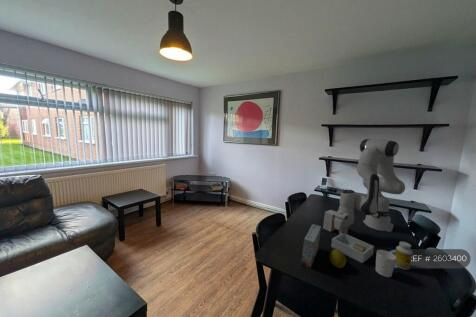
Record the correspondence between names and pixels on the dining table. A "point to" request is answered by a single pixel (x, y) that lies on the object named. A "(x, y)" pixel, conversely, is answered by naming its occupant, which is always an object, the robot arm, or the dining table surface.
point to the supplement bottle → (403, 255)
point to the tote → (346, 246)
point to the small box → (329, 220)
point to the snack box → (311, 246)
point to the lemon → (337, 258)
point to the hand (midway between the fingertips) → (343, 232)
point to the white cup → (385, 263)
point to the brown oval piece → (345, 230)
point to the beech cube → (359, 247)
